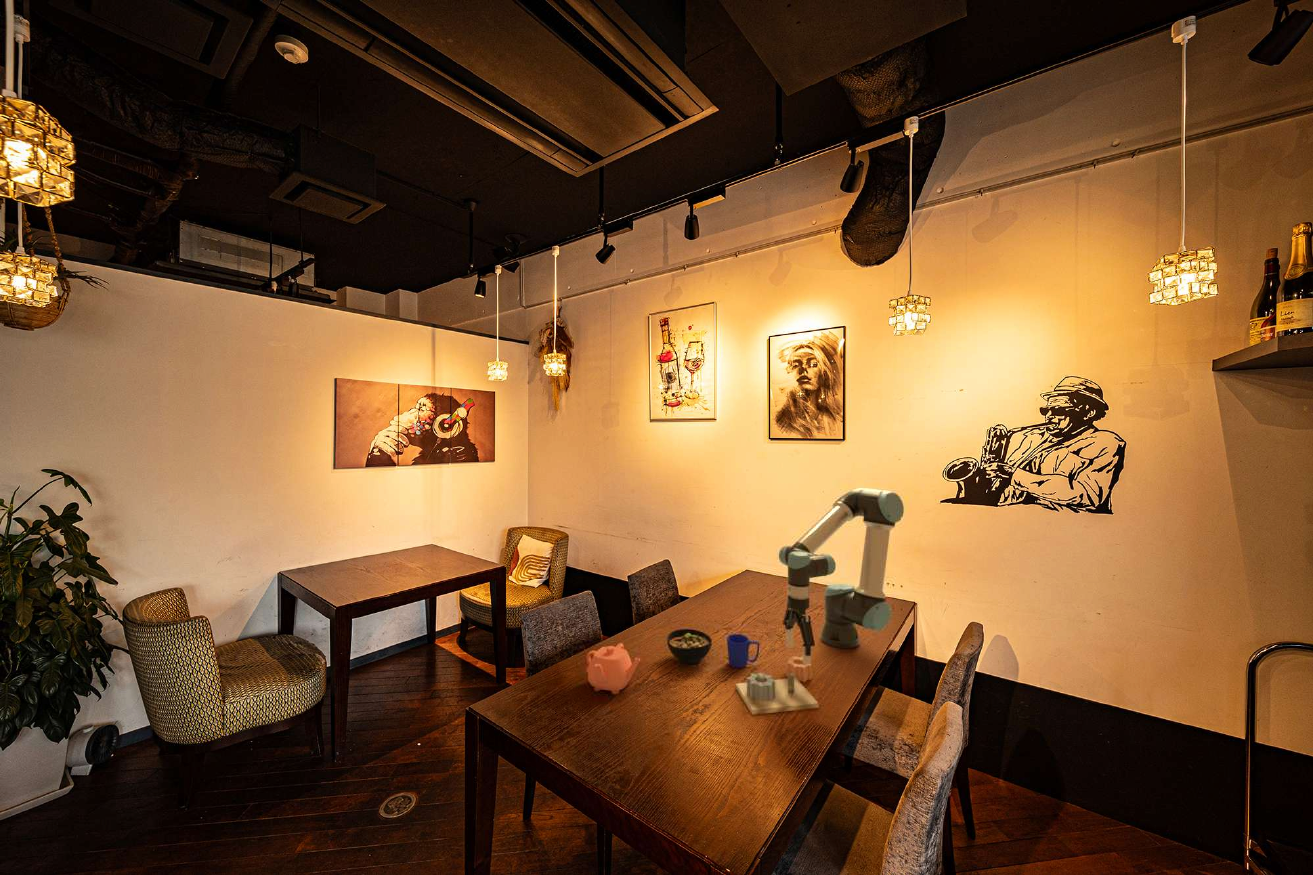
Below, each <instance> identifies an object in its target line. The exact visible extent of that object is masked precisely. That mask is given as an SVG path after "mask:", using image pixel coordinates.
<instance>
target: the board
mask: <svg viewBox="0 0 1313 875" xmlns="http://www.w3.org/2000/svg"><path fill="white" fill-rule="evenodd" d="M774 680H775V697H772V701H769V700H767V701H763V702H759V700H756V699H751V698H750V694H747V682H741V683H735V689H736V691H737V693H738V694H739V696H740V698H742V700H743V702H744V703H745V706H747V709H748V710H749V711H750V713H751V714H752V715H753V716H754V715H764V714H772V713H782V712H783V713H784V712H789V711H791V712H793V711H800V710H809V709H818V708H819V701H817V700H816V698H815V697H814V696H813V695H812V694H811V693H810V691H808V689H806V688H805V686H804V685H803V684H802V683H801V681H798V680H797V678H794V674H791V673H790V674H788V677H787V678H782V679H781V678H780V679H774ZM758 682H763V683H764V677H762V676H759V677H758Z"/></svg>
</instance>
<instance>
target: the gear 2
mask: <svg viewBox="0 0 1313 875" xmlns="http://www.w3.org/2000/svg"><path fill="white" fill-rule="evenodd" d="M802 661H803V656H801V657H800V656H796V655H792V656H791V657H790V658H788V657H786V659H785V675H786V677H787V678H788V674H790V673H791V674H794V678H797V680H798V681H799V682H802V683H806V682H807V681H808V680H810V681H811V680H812V678H813V676H812V675H813V673H812V672H813V669H812V667H813V666H812V663H811V664H804V665H803V664H802Z"/></svg>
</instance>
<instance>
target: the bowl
mask: <svg viewBox="0 0 1313 875" xmlns="http://www.w3.org/2000/svg"><path fill="white" fill-rule="evenodd" d="M712 640H713V639H712V638H711V637H710V635H708V634H707V633H705V632H702V631H700V630H697V629H690V628H682V629H677V630H673V631H672V632H669V633H668V636H667V639H666V641H667V647H668V650H669V652H670V653H671V654H672V655H673V656H674V657H675V658H676V660H677V661H678V663H679V664H681V665H682V666H684V667H685V666H686V667H694V666H698V665H699V664H700V663H701V662H702V660H703V659H704V658H705V657H706V656H708V654H709V653H710V650H711V648H712V643H713V641H712Z"/></svg>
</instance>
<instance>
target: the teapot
mask: <svg viewBox="0 0 1313 875" xmlns="http://www.w3.org/2000/svg"><path fill="white" fill-rule="evenodd" d="M591 655H593V656H592V658H591ZM586 662H587V664H588V666H587V667H586V673H587V679H588V680H587V681H588V682H589V684H590V685H591V687H594V688H593V690H594V691H595V692H601V691H602V690H603V691H611V694H612V695H618V694H620V690H624V688H625V687H626V686H627V685H628V684H629V682H630V680H631V679H632V676H633V674H634V673H635V671H636V668H638V665H639V663H640V662H641V658H640V657H635V658H634V660H633V662H632V660H631V657H630V654H629V653H628V651H627V650H626V649H625V647H624V644H623V643H621V642H620V643H618V644H617V645H616V646H613V645H609V646H602V647H600V648H599V649H597V650H591V651H589V652H588V653H587V655H586Z"/></svg>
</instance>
